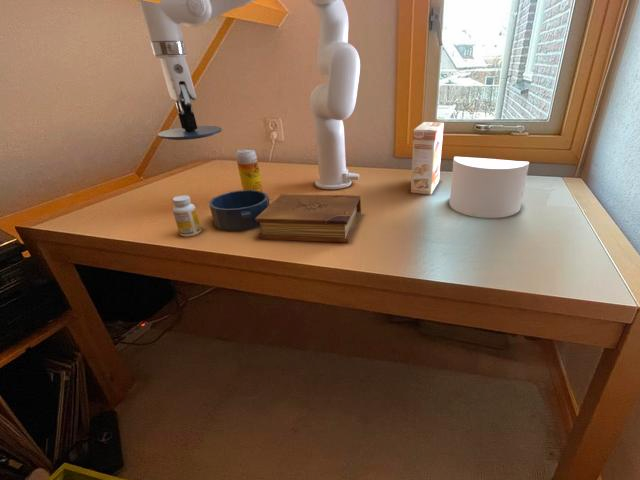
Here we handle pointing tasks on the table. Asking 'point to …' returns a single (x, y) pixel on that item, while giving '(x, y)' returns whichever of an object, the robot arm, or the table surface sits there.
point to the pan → (238, 209)
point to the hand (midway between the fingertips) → (189, 128)
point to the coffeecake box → (426, 157)
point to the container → (487, 186)
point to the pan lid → (189, 133)
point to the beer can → (249, 169)
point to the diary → (310, 218)
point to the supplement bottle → (186, 216)
